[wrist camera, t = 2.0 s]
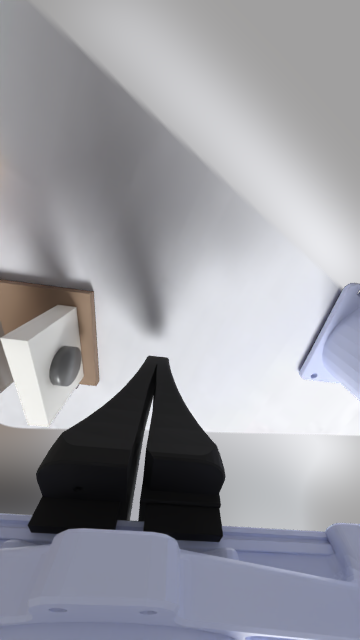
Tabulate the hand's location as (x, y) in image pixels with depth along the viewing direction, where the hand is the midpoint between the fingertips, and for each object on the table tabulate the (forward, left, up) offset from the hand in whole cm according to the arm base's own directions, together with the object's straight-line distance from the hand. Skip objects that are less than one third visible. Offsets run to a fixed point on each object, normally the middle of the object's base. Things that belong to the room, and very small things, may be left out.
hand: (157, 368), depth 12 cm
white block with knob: (+6, 0, -2) cm, 7 cm away
